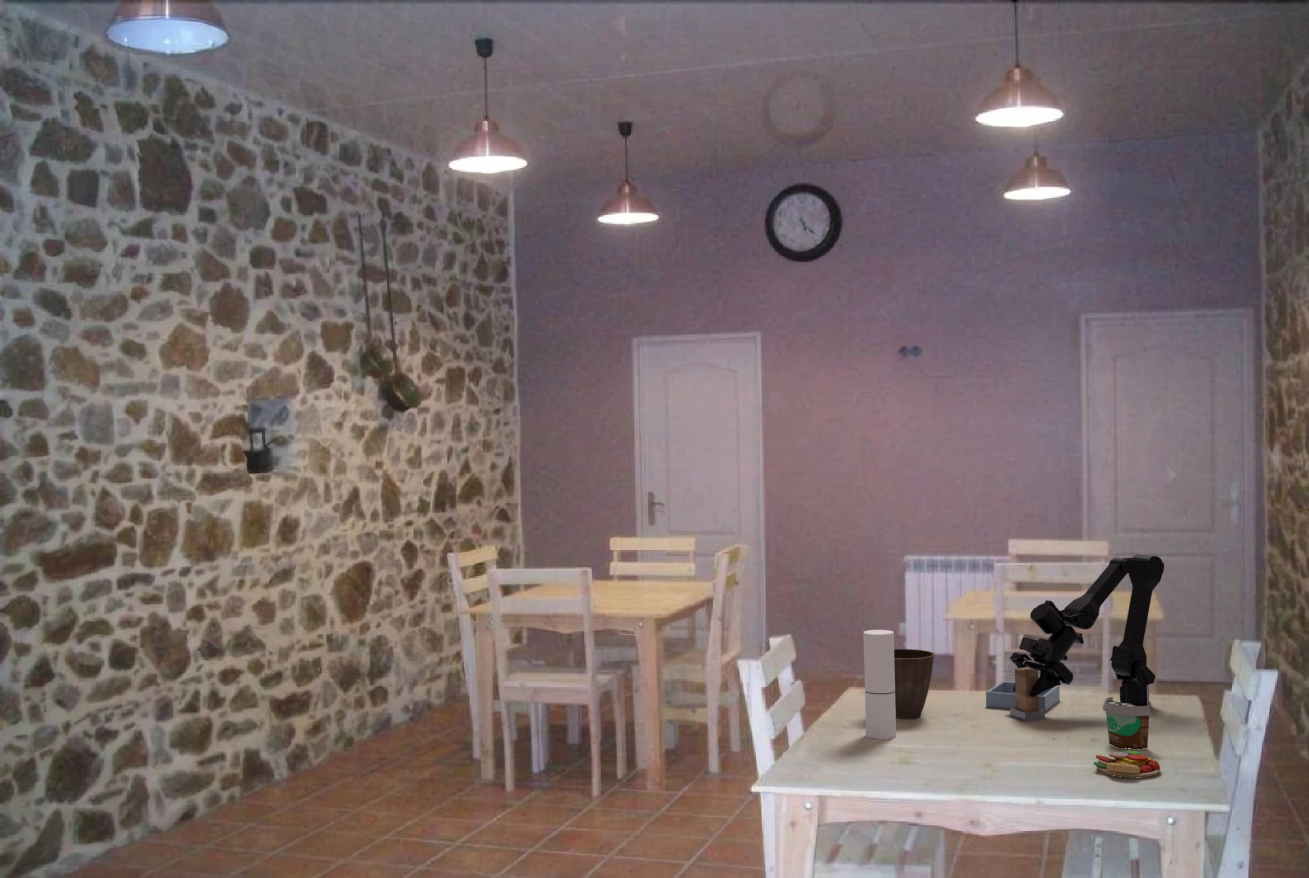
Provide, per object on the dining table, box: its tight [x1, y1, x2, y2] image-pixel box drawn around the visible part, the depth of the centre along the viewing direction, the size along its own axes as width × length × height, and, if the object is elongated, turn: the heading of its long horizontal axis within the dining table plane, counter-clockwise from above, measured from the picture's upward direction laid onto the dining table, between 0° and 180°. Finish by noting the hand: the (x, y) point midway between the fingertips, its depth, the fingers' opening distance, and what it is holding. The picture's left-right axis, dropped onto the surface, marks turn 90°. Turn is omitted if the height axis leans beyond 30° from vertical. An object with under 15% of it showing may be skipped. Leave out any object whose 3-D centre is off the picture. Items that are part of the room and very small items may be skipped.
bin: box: [985, 681, 1061, 713], centre depth 340 cm, size 15×15×4 cm
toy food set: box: [1093, 749, 1161, 779], centre depth 275 cm, size 13×13×3 cm
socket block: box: [1004, 707, 1052, 723], centre depth 324 cm, size 8×8×3 cm
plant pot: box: [894, 648, 935, 719], centre depth 332 cm, size 15×15×16 cm
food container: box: [1102, 696, 1152, 750], centre depth 295 cm, size 12×6×10 cm, turn 25°
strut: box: [1014, 667, 1039, 712], centre depth 324 cm, size 4×4×12 cm
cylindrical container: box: [862, 629, 897, 740], centre depth 311 cm, size 7×7×25 cm
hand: (1022, 693), depth 324 cm, fingers open, 6 cm apart
